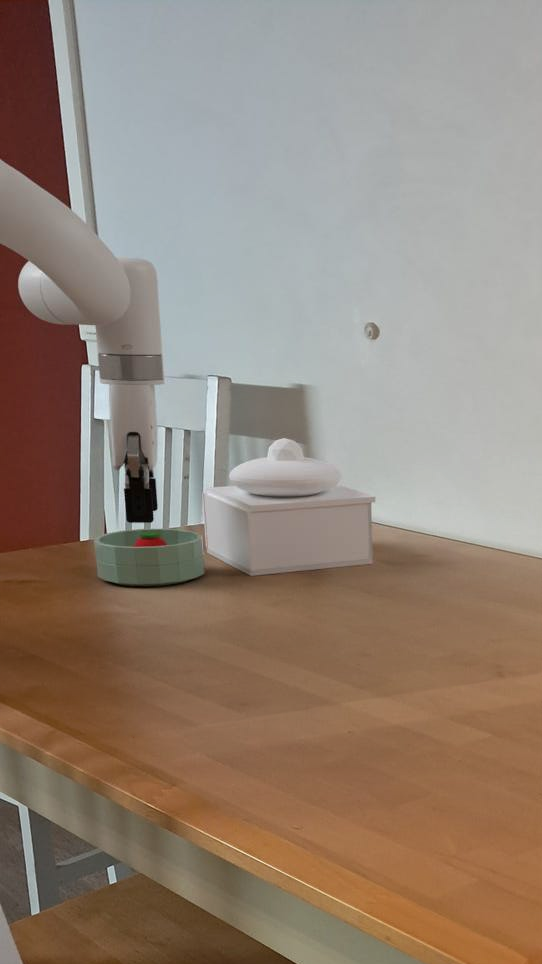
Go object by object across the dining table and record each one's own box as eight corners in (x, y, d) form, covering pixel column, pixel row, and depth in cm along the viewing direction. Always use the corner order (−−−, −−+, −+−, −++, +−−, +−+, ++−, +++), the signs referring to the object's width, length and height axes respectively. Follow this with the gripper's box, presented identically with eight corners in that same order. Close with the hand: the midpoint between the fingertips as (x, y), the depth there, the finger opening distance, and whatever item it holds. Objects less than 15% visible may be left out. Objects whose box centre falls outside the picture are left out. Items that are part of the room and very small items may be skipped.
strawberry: (133, 577, 161) (129, 537, 159) (135, 570, 165) (131, 530, 163) (170, 576, 161) (167, 536, 159) (172, 569, 166) (168, 529, 164)
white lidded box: (206, 552, 178) (197, 433, 172) (325, 542, 186) (320, 428, 180) (250, 576, 164) (242, 447, 158) (376, 563, 172) (373, 441, 166)
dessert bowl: (94, 589, 156) (89, 548, 154) (103, 568, 168) (99, 529, 166) (204, 586, 158) (200, 546, 156) (205, 565, 170) (202, 527, 168)
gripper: (105, 367, 160) (117, 506, 167) (92, 373, 145) (105, 527, 151) (166, 368, 162) (175, 506, 168) (160, 375, 146) (170, 527, 153)
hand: (142, 516), depth 160 cm, fingers open, 9 cm apart
